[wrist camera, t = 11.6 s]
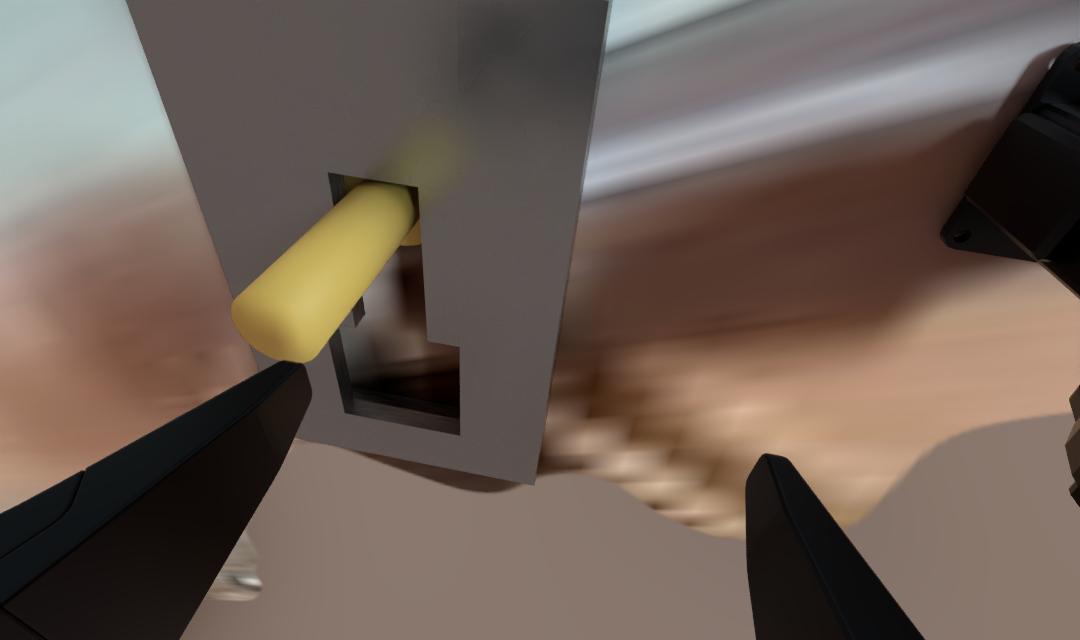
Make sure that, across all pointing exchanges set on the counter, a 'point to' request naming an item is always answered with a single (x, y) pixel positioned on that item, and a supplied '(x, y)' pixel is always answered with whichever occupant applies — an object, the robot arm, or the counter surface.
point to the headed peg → (327, 270)
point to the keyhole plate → (400, 182)
